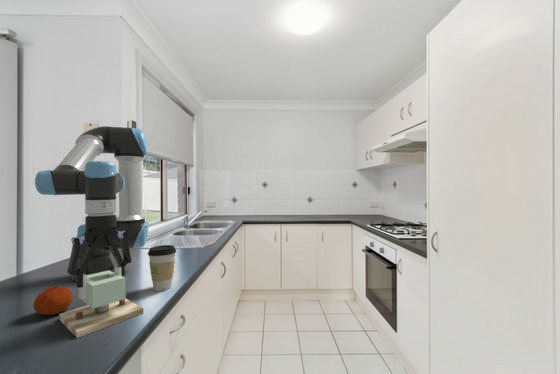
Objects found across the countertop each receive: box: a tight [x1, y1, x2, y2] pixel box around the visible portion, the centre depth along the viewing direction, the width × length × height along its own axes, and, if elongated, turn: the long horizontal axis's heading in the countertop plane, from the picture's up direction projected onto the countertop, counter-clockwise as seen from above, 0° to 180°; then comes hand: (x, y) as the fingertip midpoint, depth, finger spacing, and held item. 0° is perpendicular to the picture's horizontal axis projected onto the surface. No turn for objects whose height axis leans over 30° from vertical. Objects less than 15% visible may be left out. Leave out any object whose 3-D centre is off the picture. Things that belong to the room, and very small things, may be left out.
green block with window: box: [77, 271, 126, 308], centre depth 76 cm, size 12×8×6 cm, turn 52°
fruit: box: [33, 285, 74, 316], centre depth 79 cm, size 9×9×8 cm
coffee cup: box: [147, 244, 177, 292], centre depth 98 cm, size 10×10×15 cm
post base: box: [58, 297, 144, 339], centre depth 76 cm, size 16×16×10 cm
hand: (101, 292), depth 76 cm, fingers closed on green block with window, 8 cm apart
